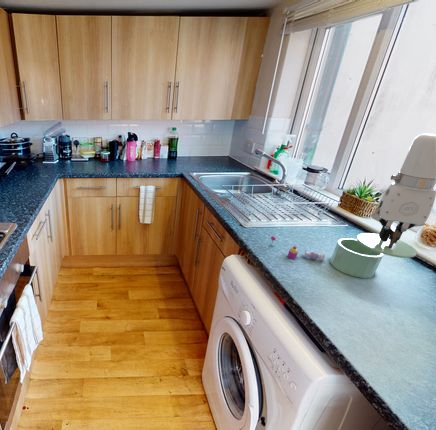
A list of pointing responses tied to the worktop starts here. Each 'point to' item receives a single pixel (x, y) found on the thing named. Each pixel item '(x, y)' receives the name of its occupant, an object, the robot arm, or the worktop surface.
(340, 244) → the canister
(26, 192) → the worktop surface
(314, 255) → the candies
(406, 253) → the lid
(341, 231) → the worktop surface
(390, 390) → the worktop surface
